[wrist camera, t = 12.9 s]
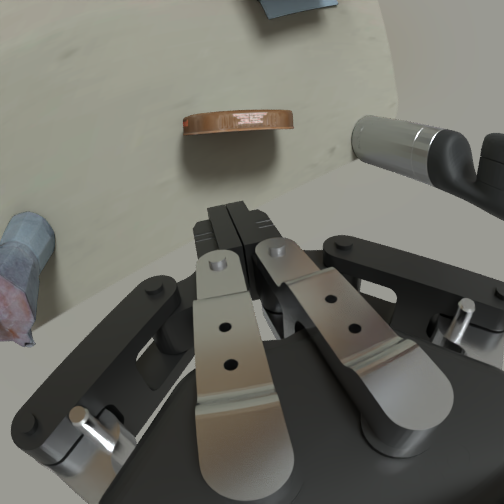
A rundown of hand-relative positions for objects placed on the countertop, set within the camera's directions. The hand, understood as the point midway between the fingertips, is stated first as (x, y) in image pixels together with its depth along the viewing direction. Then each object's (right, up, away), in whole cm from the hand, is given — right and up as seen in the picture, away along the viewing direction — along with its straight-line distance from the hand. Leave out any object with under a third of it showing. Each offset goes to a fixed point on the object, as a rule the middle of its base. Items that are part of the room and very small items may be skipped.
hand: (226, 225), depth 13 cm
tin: (-2, +18, +29) cm, 34 cm away
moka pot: (-32, +1, +24) cm, 40 cm away
